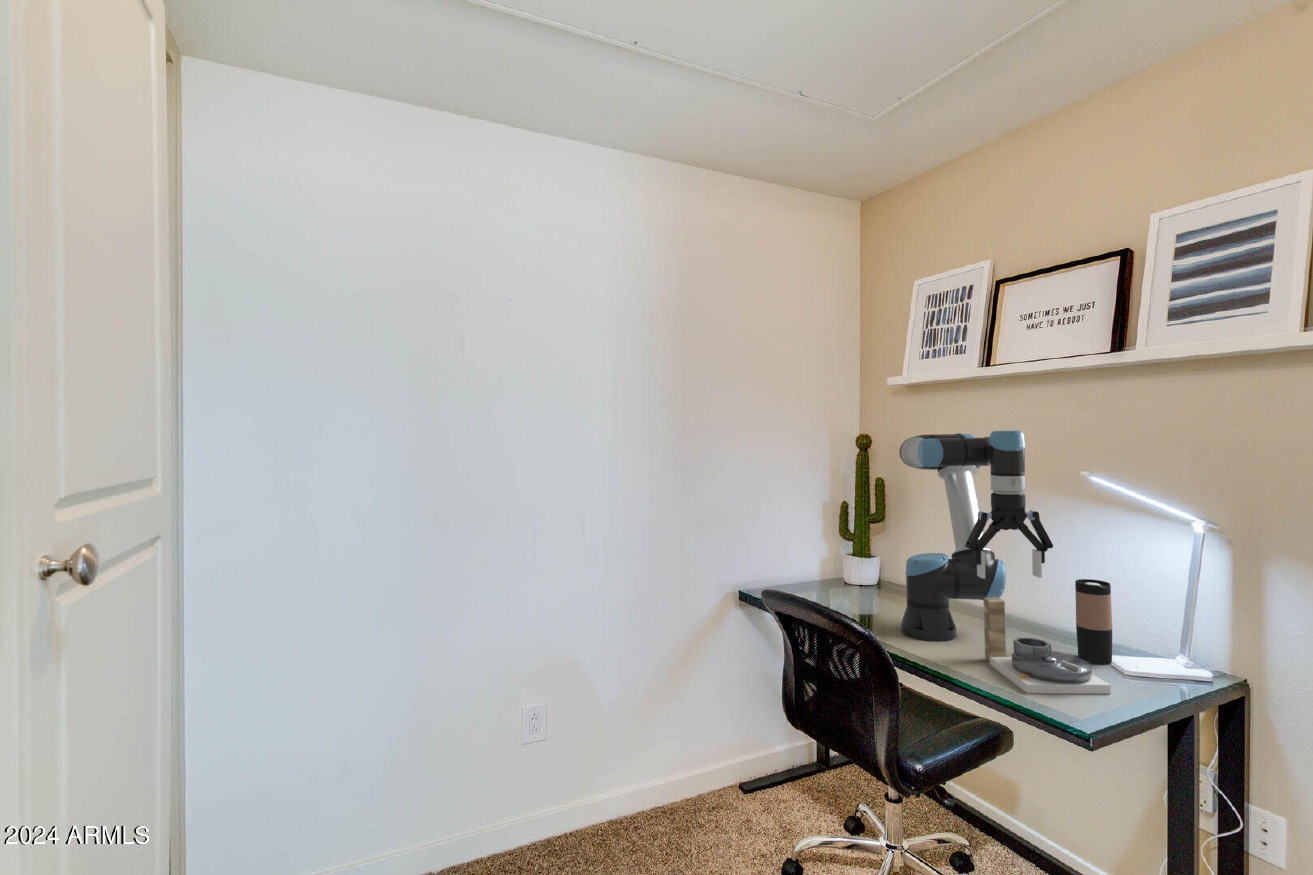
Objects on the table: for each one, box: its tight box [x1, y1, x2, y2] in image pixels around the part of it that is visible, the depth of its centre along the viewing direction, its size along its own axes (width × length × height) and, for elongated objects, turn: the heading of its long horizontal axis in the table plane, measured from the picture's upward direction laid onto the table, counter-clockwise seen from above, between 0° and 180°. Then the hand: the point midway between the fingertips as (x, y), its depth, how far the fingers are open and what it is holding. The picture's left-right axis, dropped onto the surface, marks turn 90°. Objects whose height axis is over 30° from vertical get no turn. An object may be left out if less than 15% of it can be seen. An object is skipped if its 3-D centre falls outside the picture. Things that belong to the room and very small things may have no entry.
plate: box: [989, 656, 1112, 695], centre depth 148 cm, size 18×18×2 cm
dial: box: [1011, 637, 1093, 682], centre depth 147 cm, size 16×16×5 cm
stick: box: [983, 598, 1007, 663], centre depth 160 cm, size 4×4×16 cm
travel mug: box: [1074, 578, 1113, 665], centre depth 159 cm, size 8×8×20 cm
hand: (1009, 576), depth 154 cm, fingers open, 13 cm apart
